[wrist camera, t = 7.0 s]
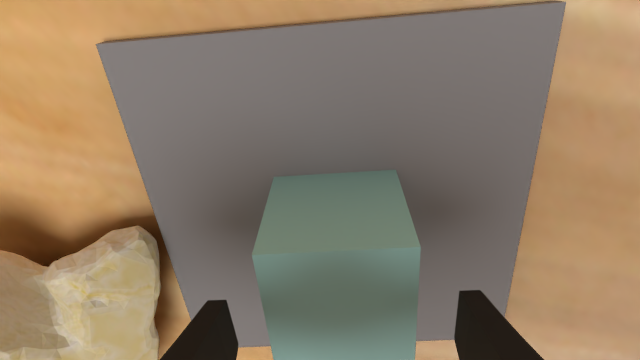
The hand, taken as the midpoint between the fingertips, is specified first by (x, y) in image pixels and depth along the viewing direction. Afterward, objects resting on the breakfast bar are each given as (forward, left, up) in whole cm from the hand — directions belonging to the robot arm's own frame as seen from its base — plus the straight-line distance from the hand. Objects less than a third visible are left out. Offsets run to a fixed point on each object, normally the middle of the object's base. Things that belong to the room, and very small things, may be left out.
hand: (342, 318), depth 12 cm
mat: (0, 0, -6) cm, 6 cm away
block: (0, 0, -6) cm, 6 cm away
